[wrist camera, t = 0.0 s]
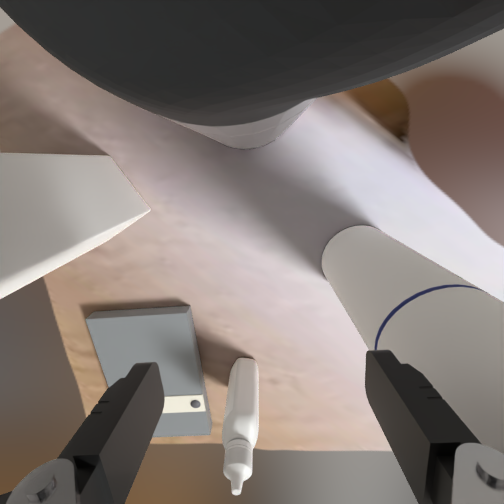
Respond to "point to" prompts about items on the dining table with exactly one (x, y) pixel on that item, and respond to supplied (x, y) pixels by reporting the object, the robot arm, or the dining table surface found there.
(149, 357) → the floor panel
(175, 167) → the dining table surface
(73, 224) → the milk
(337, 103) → the dining table surface
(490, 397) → the cylindrical container
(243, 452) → the eye dropper bottle
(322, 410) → the dining table surface
